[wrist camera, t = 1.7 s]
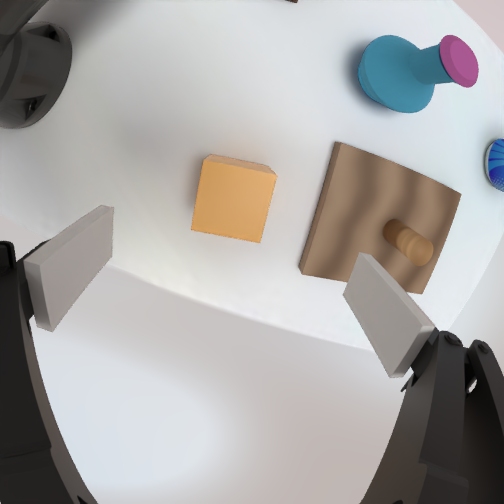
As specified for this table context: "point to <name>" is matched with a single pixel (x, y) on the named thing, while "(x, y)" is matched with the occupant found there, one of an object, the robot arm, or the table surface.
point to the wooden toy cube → (233, 198)
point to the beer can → (495, 164)
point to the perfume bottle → (414, 70)
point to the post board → (378, 219)
